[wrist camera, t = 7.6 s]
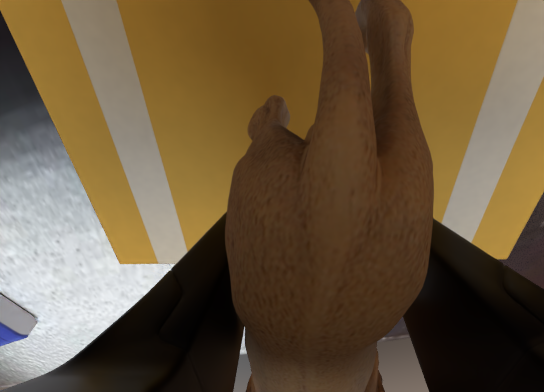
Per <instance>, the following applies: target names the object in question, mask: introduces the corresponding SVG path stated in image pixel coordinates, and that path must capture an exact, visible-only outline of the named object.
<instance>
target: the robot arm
mask: <svg viewBox="0 0 544 392" xmlns="http://www.w3.org/2000/svg"><path fill="white" fill-rule="evenodd" d="M226 216H227V211H226V212H225V213H224V214H223V216H222V217H221V218H220V219H219V220H218V221H217V222H216V223H215V224H214V225H213V226H212V227H211V228H210V229H209V230H208V231H207V232H206V233H205V234H204V235H203V236H202V237H201V238H200V240H199V241H198V242H197V243H196V244H195V245H194V246H193V247H192V248H191V249H190V250H189V251H188V252H187V253H186V254H185V255H184V256H183V257H182V258H181V259H180V260H179V261H178V262H177V263H176V265H175V266H174V267H173V268H172V269H171V270H172V271H169V272H168V273H167V274H166V275H165V276H164V277H163V278H162V279H161V280H160V281H159V282H158V283H157V284H156V285H155V286H154V287H153V288H152V289H151V290H150V291H149V292H148V293H147V294H146V295H145V296H144V297H143V298H141V299H140V300H139V301H138V302H137V303H136V304H135V305H134V306H133V307H131V308H130V309H129V310H128V311H127V312H126V313H125V314H123V315H122V316H121V317H120V318H119V319H118V320H116V321H115V322H114V323H113V324H112V325H111V326H110V327H108V328H107V329H106V330H105V331H104V332H103V333H101V334H100V335H99V336H98V337H97V338H96V339H94V340H93V341H92V342H91V343H90V344H89V345H87V346H86V347H85V348H84V349H83V350H82V351H80V352H79V353H78V354H77V355H75V356H74V357H73V358H71V359H70V360H69V361H67V362H66V363H64V364H63V365H61V366H59V367H58V368H56V369H54V370H52V371H50V372H48V373H46V374H44V375H41V376H39V377H36V378H34V379H31V380H28V381H26V382H23V383H20V384H17V385H15V386H12V387H9V388H7V389H4V390H1V391H0V392H233V389H234V383H235V377H236V372H237V366H238V360H239V354H240V349H241V343H242V337H243V331H244V324H243V323H242V321H241V320H240V318H239V316H238V314H237V312H236V310H235V307H234V304H233V300H232V292H231V280H230V272H229V264H228V258H227V252H226V246H225V226H226ZM403 318H404V321H405V324H406V327H407V329H408V332H409V335H410V338H411V341H412V344H413V346H414V349H415V352H416V355H417V358H418V361H419V364H420V367H421V369H422V372H423V375H424V378H425V381H426V384H427V387H428V389H429V392H544V289H542V288H541V287H539V286H538V285H536V284H534V283H533V282H531V281H530V280H528V279H526V278H525V277H523V276H522V275H520V274H519V273H517V272H515V271H514V270H512V269H511V268H509V267H508V266H504V265H503V263H501V262H500V261H498V260H497V259H495V258H494V257H492V256H491V255H489V254H488V253H486V252H485V251H483V250H481V249H480V248H478V247H477V246H475V245H474V244H472V243H471V242H469V241H468V240H466V239H465V238H463V237H461V236H460V235H458V234H457V233H455V232H454V231H452V230H451V229H449V228H448V227H446V226H445V225H443V224H441V223H440V222H438V221H437V220H435V219H434V218H433V226H432V237H431V245H430V254H429V262H428V270H427V274H426V278H425V281H424V284H423V287H422V289H421V291H420V293H419V294H418V296H417V298H416V299H415V300H414V302H413V303H412V304H411V306H410V307H409V308H408V310H407V311H406V312H405V314H404V315H403Z"/></svg>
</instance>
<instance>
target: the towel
mask: <svg viewBox="0 0 544 392" xmlns="http://www.w3.org/2000/svg"><path fill="white" fill-rule="evenodd" d="M349 1H350V3H351V4H352V6H353V9H354V12H356V9H357V6H358V4H359V2H360V1H361V0H349ZM401 1H402V2H403V4H404V5H405V6H406V7H407V8H408V9H409V11H410V13H411V15H412V19H413V25H414V34H413V39H412V44H411V83H412V90H413V97H414V103H415V106H416V110H417V113H418V117H419V120H420V124H421V127H422V130H423V133H424V136H425V138H426V141H427V144H428V147H429V150H430V153H431V157H432V162H433V178H434V202H433V218H434V219H435V220H437V221H438V222H440V223H441V224H443V225H445V226H446V227H448V228H449V229H451V230H452V231H454V232H455V233H457V234H458V235H460V236H461V237H463V238H465V239H466V240H468V241H469V242H471V243H472V244H474V245H475V246H477V247H478V248H480V249H481V250H483V251H485V252H486V253H488V254H489V255H491V256H492V257H494V258H495V259H507V258H508V256H509V254H510V252H511V250H512V249H513V247H514V245H515V243H516V241H517V239H518V238H519V236H520V234H521V232H522V230H523V228H524V227H525V225H526V223H527V221H528V219H529V217H530V216H531V214H532V212H533V210H534V208H535V206H536V205H537V203H538V201H539V199H540V197H541V195H542V194H543V192H544V0H401ZM0 11H1V13H2V15H3V17H4V19H5V21H6V23H7V25H8V28H9V30H10V32H11V34H12V36H13V38H14V40H15V42H16V45H17V47H18V49H19V51H20V53H21V55H22V57H23V59H24V61H25V64H26V66H27V68H28V70H29V72H30V74H31V76H32V78H33V81H34V83H35V85H36V87H37V89H38V91H39V93H40V95H41V98H42V100H43V102H44V104H45V106H46V108H47V110H48V112H49V114H50V117H51V119H52V121H53V123H54V125H55V127H56V129H57V131H58V134H59V136H60V138H61V140H62V142H63V144H64V146H65V148H66V151H67V153H68V155H69V157H70V159H71V161H72V163H73V165H74V168H75V170H76V172H77V174H78V176H79V178H80V180H81V182H82V184H83V187H84V189H85V191H86V193H87V195H88V197H89V199H90V201H91V204H92V206H93V208H94V210H95V212H96V214H97V216H98V218H99V221H100V223H101V225H102V227H103V229H104V231H105V233H106V235H107V237H108V240H109V242H110V244H111V246H112V248H113V250H114V252H115V254H116V257H117V259H118V261H119V263H120V264H176V263H177V262H178V261H179V260H180V259H181V258H182V257H183V256H184V255H185V254H186V253H187V252H188V251H189V250H190V249H191V248H192V247H193V246H194V245H195V244H196V243H197V242H198V241H199V240H200V238H201V237H202V236H203V235H204V234H205V233H206V232H207V231H208V230H209V229H210V228H211V227H212V226H213V225H214V224H215V223H216V222H217V221H218V220H219V219H220V218H221V217H222V216H223V214H224V213H225V212H226V211H227V206H228V198H229V192H230V187H231V181H232V176H233V171H234V168H235V166H236V164H237V163H238V161H239V160H240V159H241V158H242V157H243V156H244V155H245V154H246V152H247V150H248V148H249V146H250V144H251V143H252V140H251V138H250V137H249V135H248V125H249V122H250V120H251V118H252V116H253V114H254V113H255V111H256V110H257V109H258V108H260V107H261V106H263V105H264V104H265V102H266V101H267V99H268V98H269V97H271V96H273V95H277V96H281V97H283V98H284V100H285V102H286V105H287V108H288V110H289V113H290V121H289V124H288V125H287V129H288V130H289V131H291V132H293V133H294V134H296V135H297V136H299V137H300V138H302V139H303V140H304V139H305V137H306V135H307V132H308V130H309V129H310V127H311V126H312V125H313V124H314V123H315V118H316V113H317V108H318V99H319V91H320V83H321V75H322V68H323V41H322V32H321V29H320V25H319V19H318V16H317V14H316V12H315V10H314V8H313V6H312V5H311V3H310V2H309V0H0ZM365 53H366V52H365ZM366 58H367V63H368V70H369V80H370V90H371V70H370V59H369V54H367V53H366Z"/></svg>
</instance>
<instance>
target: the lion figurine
mask: <svg viewBox="0 0 544 392" xmlns="http://www.w3.org/2000/svg"><path fill="white" fill-rule="evenodd" d="M309 2H310V3H311V5H312V6H313V8H314V10H315V12H316V14H317V16H318V19H319V25H320V29H321V32H322V41H323V68H322V75H321V83H320V91H319V99H318V108H317V113H316V118H315V123H314V124H313V125H312V126H311V127H310V129H309V130H308V132H307V135H306V137H305V139H304V140H303V139H302V138H300V137H299V136H297V135H296V134H294V133H293V132H291V131H289V130H288V129H287V125H288V124H289V121H290V113H289V110H288V108H287V105H286V102H285V100H284V98H283V97H281V96H277V95H273V96H271V97H269V98H268V99H267V101H266V102H265V104H264V105H263V106H261V107H260V108H258V109H257V110H256V111H255V113H254V114H253V116H252V118H251V120H250V122H249V125H248V135H249V137H250V138H251V140H252V143H251V144H250V146H249V148H248V150H247V152H246V154H245V155H244V156H243V157H242V158H241V159H240V160H239V161H238V163H237V164H236V166H235V168H234V171H233V176H232V181H231V187H230V192H229V198H228V206H227V216H226V226H225V246H226V252H227V258H228V264H229V272H230V280H231V292H232V300H233V304H234V307H235V310H236V312H237V314H238V316H239V318H240V320H241V321H242V323H243V324H244V326H245V347H246V351H247V355H248V358H249V362H250V366H251V371H252V374H251V376H250V379H249V382H248V385H247V390H246V392H385V391H384V388H383V385H382V377H381V375H380V373H379V370H378V365H379V360H378V351H377V348H376V347H377V341H378V340H380V339H381V338H383V337H384V336H385V335H386V334H387V333H388V332H389V331H390V330H392V329H393V327H394V326H395V325H396V324H397V322H398V321H399V320H400V319H401V318H402V316H403V315H404V314H405V312H406V311H407V310H408V308H409V307H410V306H411V304H412V303H413V302H414V300H415V299H416V298H417V296H418V294H419V293H420V291H421V289H422V287H423V284H424V281H425V278H426V274H427V270H428V262H429V254H430V245H431V237H432V226H433V202H434V178H433V162H432V157H431V153H430V150H429V147H428V144H427V141H426V138H425V136H424V133H423V130H422V127H421V124H420V120H419V117H418V113H417V110H416V106H415V103H414V97H413V90H412V83H411V44H412V39H413V34H414V25H413V19H412V15H411V13H410V11H409V9H408V8H407V7H406V6H405V5H404V4H403V2H402V1H401V0H361V1H360V2H359V4H358V6H357V9H356V12H354V9H353V6H352V4H351V3H350V1H349V0H309ZM365 52H366V53H367V54H369V59H370V70H371V90H370V80H369V70H368V63H367V58H366V53H365Z"/></svg>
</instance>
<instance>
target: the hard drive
mask: <svg viewBox="0 0 544 392" xmlns="http://www.w3.org/2000/svg"><path fill="white" fill-rule="evenodd" d="M36 324H37V321H36V319H35V318H34V317H33V316H32V315H31V314H29V313H28V312H26V311H25V310H23V309H22V308H20V307H19V306H17V305H16V304H14V303H13V302H11V301H10V300H8V299H7V298H5V297H4V296H2V295H1V294H0V346H2V345H5V344H9V343H11V342H14V341H18V340H21V339H24V338H27V337H28V335H29V334H30V332H31V331H32V330H33V328H34V327H35V325H36Z"/></svg>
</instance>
